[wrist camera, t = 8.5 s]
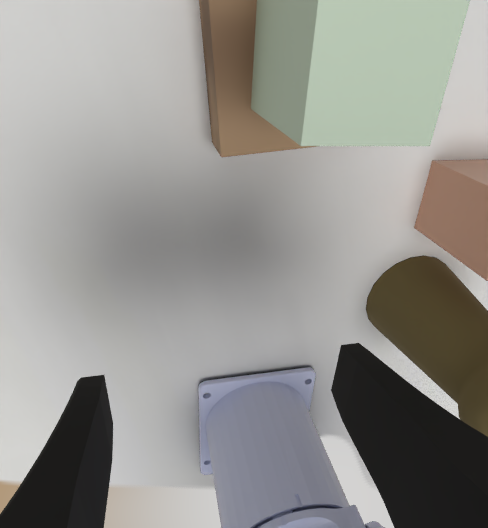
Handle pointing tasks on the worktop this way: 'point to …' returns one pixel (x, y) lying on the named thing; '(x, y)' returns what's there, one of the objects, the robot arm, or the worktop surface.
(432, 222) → the terracotta block
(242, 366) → the worktop surface
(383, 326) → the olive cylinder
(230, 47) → the walnut board
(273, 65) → the sage block
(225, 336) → the worktop surface
